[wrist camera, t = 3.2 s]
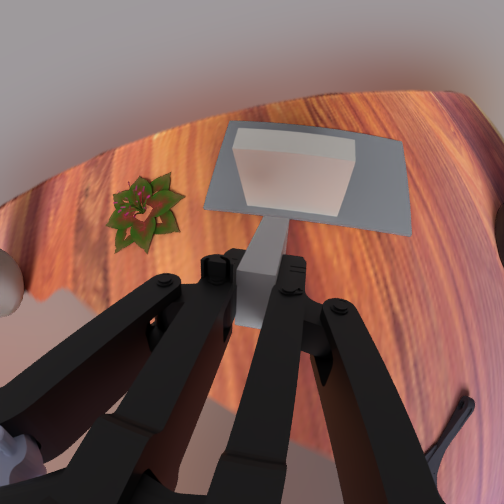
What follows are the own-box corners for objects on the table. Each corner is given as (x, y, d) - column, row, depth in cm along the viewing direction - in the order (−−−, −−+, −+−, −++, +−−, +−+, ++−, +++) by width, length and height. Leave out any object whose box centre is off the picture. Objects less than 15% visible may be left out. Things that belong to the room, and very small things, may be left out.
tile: (338, 195, 31) (354, 137, 21) (337, 216, 30) (355, 161, 21) (251, 185, 32) (238, 125, 23) (247, 205, 32) (232, 148, 22)
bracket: (494, 411, 20) (506, 413, 18) (432, 510, 17) (441, 518, 15) (421, 375, 24) (433, 376, 22) (348, 488, 21) (353, 498, 18)
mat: (401, 144, 33) (402, 141, 33) (410, 236, 29) (411, 235, 28) (230, 123, 37) (229, 120, 37) (204, 209, 33) (203, 207, 32)
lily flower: (196, 242, 32) (183, 225, 28) (108, 269, 32) (87, 258, 28) (182, 162, 36) (171, 141, 32) (106, 191, 36) (89, 175, 32)
